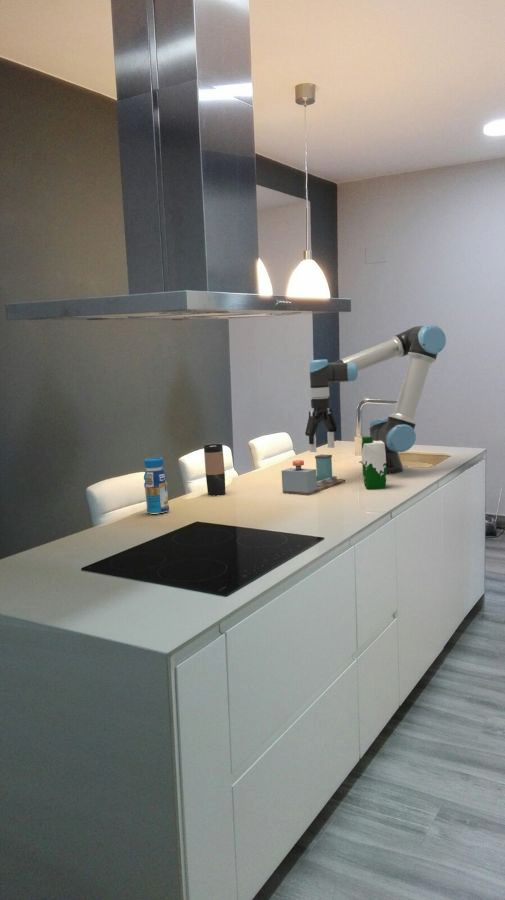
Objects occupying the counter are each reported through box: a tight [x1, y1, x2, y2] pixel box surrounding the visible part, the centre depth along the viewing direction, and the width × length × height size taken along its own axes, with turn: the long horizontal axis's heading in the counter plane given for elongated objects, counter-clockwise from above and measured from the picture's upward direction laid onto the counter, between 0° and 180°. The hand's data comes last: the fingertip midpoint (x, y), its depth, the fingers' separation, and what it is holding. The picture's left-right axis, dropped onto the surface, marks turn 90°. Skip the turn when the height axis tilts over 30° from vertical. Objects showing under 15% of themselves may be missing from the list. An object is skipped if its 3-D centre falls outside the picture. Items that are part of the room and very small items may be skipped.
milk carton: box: [361, 436, 387, 491], centre depth 281 cm, size 9×9×20 cm
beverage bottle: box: [143, 457, 170, 514], centre depth 262 cm, size 8×8×20 cm
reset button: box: [292, 459, 305, 471], centre depth 281 cm, size 4×4×4 cm
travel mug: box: [203, 443, 226, 497], centre depth 289 cm, size 8×8×20 cm
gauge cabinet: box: [281, 467, 317, 493], centre depth 282 cm, size 6×12×8 cm, turn 52°
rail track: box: [282, 475, 347, 496], centre depth 290 cm, size 28×12×3 cm, turn 142°
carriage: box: [314, 454, 333, 481], centre depth 296 cm, size 4×5×11 cm
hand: (322, 449), depth 294 cm, fingers open, 13 cm apart
